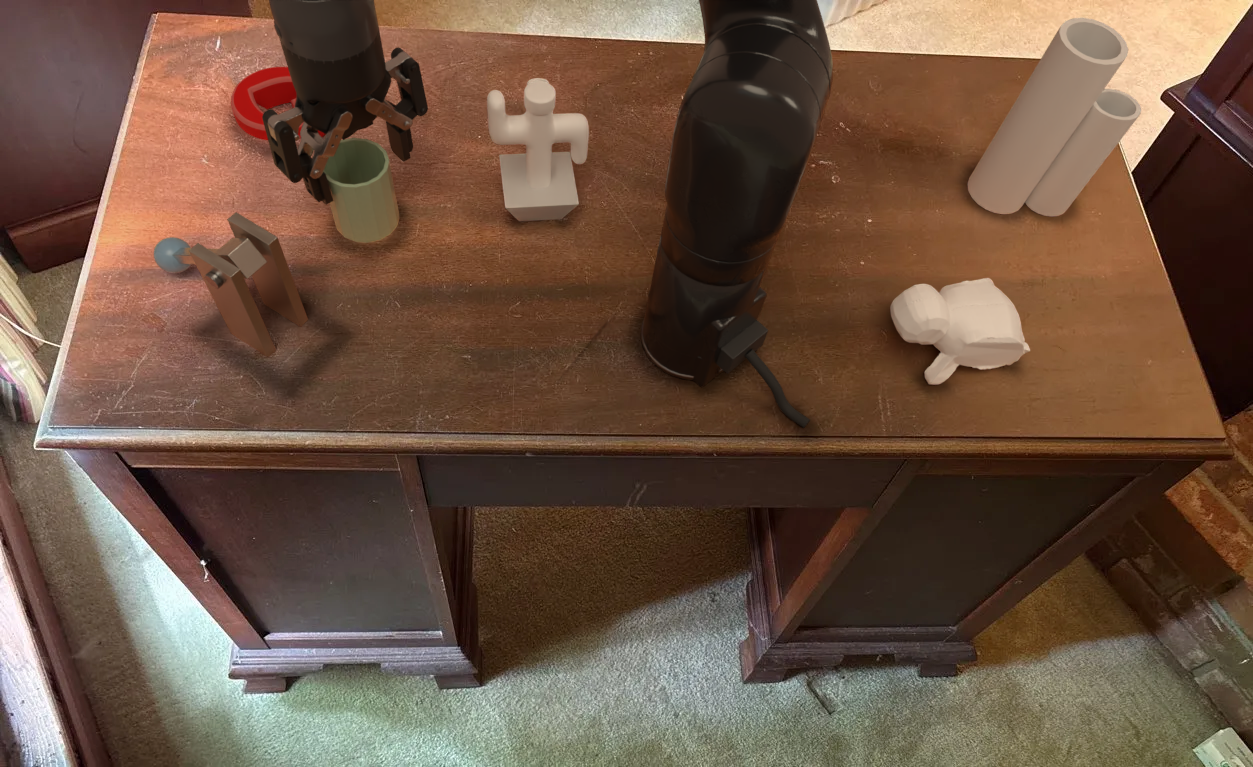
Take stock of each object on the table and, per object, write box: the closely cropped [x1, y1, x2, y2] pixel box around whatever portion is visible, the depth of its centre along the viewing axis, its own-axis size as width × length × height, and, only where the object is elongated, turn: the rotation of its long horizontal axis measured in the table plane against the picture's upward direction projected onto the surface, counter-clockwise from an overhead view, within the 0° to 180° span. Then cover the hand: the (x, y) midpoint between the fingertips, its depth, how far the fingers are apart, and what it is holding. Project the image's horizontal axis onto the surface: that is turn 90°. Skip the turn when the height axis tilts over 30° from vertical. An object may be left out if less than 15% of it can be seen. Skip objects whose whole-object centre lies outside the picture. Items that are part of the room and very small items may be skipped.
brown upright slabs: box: [189, 211, 309, 358], centre depth 74 cm, size 10×7×13 cm
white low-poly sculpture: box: [889, 277, 1031, 386], centre depth 83 cm, size 9×8×15 cm
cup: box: [323, 137, 401, 244], centre depth 83 cm, size 6×6×9 cm
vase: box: [966, 17, 1142, 217], centre depth 90 cm, size 11×7×20 cm, turn 93°
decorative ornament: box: [230, 66, 326, 141], centre depth 92 cm, size 10×10×3 cm
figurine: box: [486, 77, 590, 222], centre depth 84 cm, size 7×9×15 cm
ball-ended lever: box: [153, 236, 267, 280], centre depth 75 cm, size 16×3×3 cm
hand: (363, 176), depth 81 cm, fingers open, 8 cm apart
